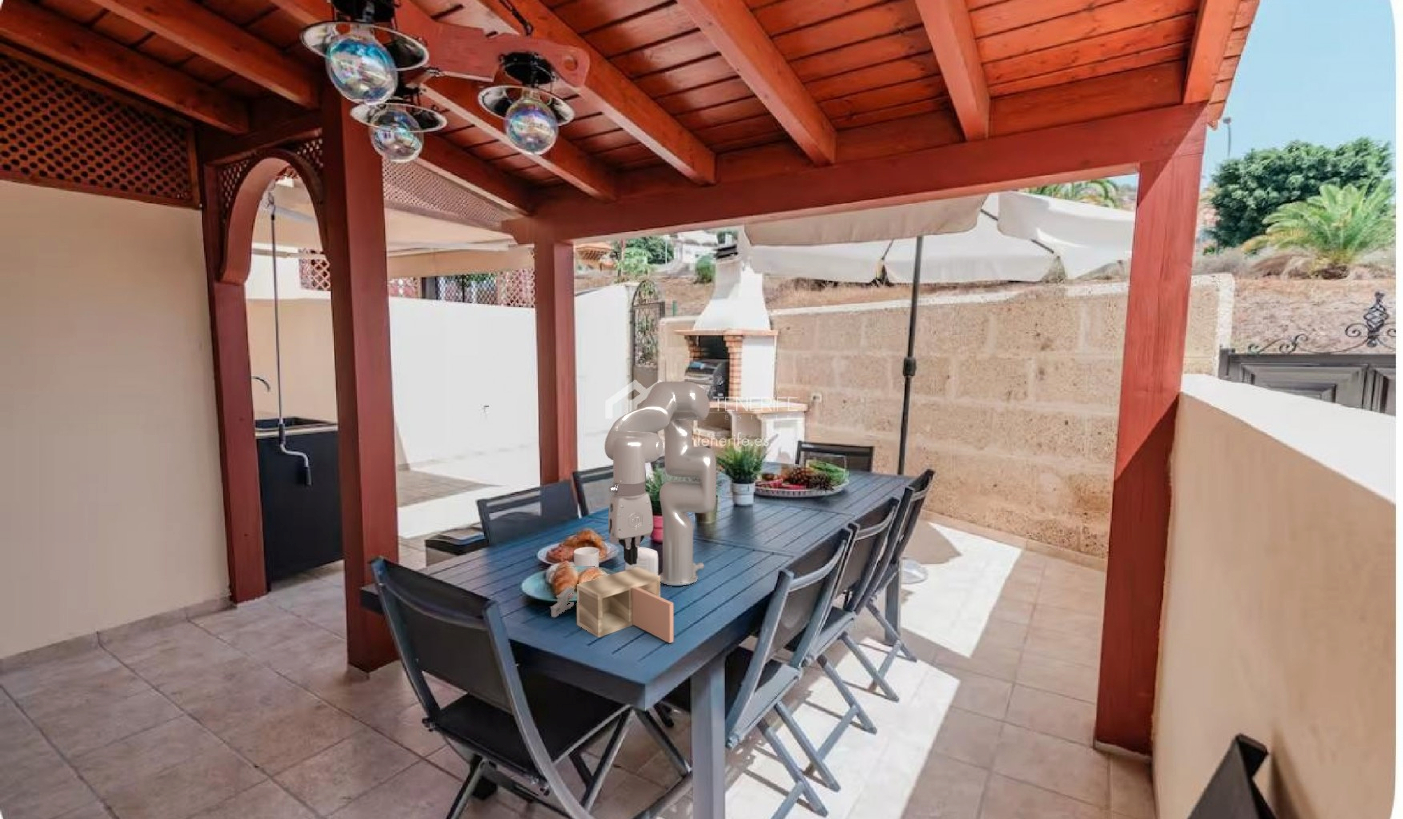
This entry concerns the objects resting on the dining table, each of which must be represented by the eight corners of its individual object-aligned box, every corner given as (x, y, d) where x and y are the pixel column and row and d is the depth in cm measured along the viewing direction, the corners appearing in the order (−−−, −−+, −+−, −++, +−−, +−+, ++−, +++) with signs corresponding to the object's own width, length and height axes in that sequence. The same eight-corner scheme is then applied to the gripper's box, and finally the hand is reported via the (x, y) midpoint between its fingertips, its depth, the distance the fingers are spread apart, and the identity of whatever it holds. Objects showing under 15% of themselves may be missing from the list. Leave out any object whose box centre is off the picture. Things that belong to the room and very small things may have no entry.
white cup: (601, 577, 200) (600, 546, 199) (597, 586, 192) (597, 554, 191) (576, 577, 200) (575, 547, 199) (571, 586, 192) (571, 555, 191)
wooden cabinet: (638, 604, 178) (637, 566, 177) (663, 616, 170) (663, 577, 169) (577, 625, 165) (576, 584, 164) (601, 639, 156) (601, 596, 155)
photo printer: (659, 586, 193) (659, 546, 192) (656, 591, 188) (655, 551, 187) (627, 583, 195) (627, 544, 194) (623, 588, 191) (623, 548, 189)
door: (632, 623, 164) (632, 587, 163) (639, 621, 166) (639, 585, 165) (669, 643, 153) (669, 604, 152) (677, 640, 155) (677, 601, 154)
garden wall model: (555, 618, 169) (555, 597, 168) (549, 617, 169) (549, 596, 169) (579, 602, 180) (579, 582, 179) (574, 601, 181) (574, 581, 180)
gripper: (607, 496, 142) (609, 574, 144) (664, 487, 150) (665, 561, 152) (594, 489, 148) (595, 564, 150) (649, 481, 156) (650, 552, 159)
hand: (630, 562), depth 151 cm, fingers closed
